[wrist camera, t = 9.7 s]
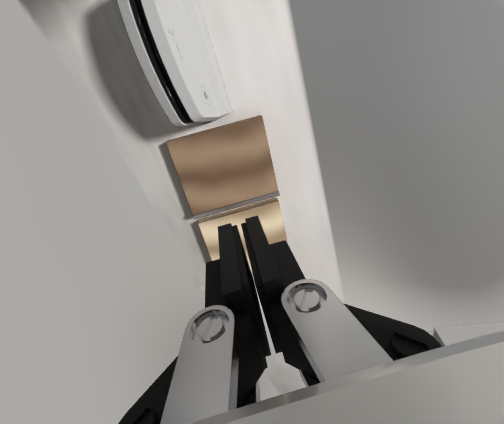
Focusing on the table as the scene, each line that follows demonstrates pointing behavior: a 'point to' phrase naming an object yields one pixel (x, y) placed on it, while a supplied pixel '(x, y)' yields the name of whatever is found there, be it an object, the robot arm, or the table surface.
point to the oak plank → (265, 211)
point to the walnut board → (225, 167)
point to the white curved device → (177, 58)
